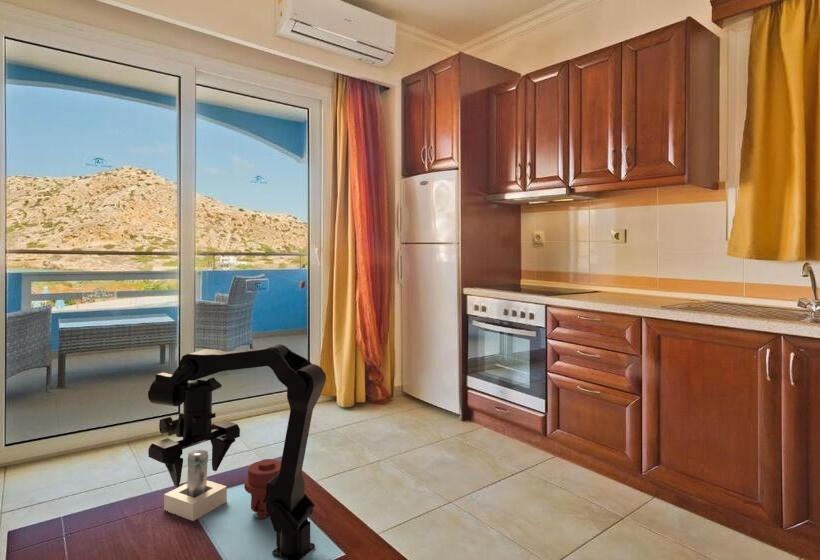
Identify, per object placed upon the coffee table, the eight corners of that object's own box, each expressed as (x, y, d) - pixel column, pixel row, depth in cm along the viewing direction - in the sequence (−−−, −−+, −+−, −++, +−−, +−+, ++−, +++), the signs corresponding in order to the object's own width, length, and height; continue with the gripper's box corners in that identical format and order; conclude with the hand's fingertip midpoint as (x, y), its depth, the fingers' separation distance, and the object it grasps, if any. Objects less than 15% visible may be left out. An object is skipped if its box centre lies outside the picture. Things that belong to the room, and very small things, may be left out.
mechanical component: (294, 504, 121) (275, 525, 111) (257, 499, 123) (235, 520, 113) (294, 456, 121) (275, 473, 111) (257, 452, 123) (236, 468, 113)
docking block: (226, 501, 122) (226, 486, 121) (193, 521, 113) (193, 504, 112) (198, 492, 126) (198, 477, 126) (164, 510, 117) (164, 494, 117)
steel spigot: (209, 506, 119) (211, 454, 119) (189, 512, 116) (191, 458, 116) (202, 499, 123) (204, 448, 122) (183, 504, 119) (185, 452, 119)
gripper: (211, 391, 118) (210, 454, 118) (134, 411, 102) (133, 483, 103) (242, 401, 112) (240, 467, 113) (164, 423, 96) (163, 499, 97)
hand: (196, 478), depth 106 cm, fingers open, 9 cm apart
